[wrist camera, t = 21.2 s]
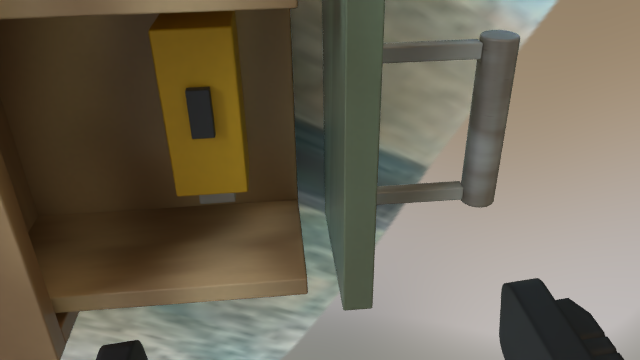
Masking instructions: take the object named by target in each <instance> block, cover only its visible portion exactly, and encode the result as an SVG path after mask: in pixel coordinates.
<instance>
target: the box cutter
mask: <svg viewBox="0 0 640 360" xmlns="http://www.w3.org/2000/svg"><path fill="white" fill-rule="evenodd" d="M148 34H149V39H150V45H151V51H152V56H153V62H154V68H155V74H156V79H157V85H158V91H159V97H160V102H161V108H162V114H163V120H164V125H165V131H166V137H167V143H168V148H169V154H170V160H171V166H172V171H173V177H174V183H175V189H176V194H177V196H179V197H180V196H195V195H199V200H200V204H209V203H224V202H235V200H236V193H240V192H248V189H249V153H248V142H247V132H246V121H245V111H244V100H243V90H242V79H241V68H240V58H239V47H238V37H237V26H236V16H235V11H211V12H184V13H160V14H159V15H158V17H157V18H156V20H155V21H154V23H153V24H152V26H151V27H150V29H149V31H148Z"/></svg>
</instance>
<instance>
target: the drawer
mask: <svg viewBox="0 0 640 360" xmlns="http://www.w3.org/2000/svg"><path fill="white" fill-rule="evenodd" d="M297 6H298V0H0V151H1V154H2V157H3V160H4V163H5V166H6V169H7V172H8V175H9V178H10V180H11V183H12V186H13V189H14V192H15V195H16V198H17V201H18V204H19V207H20V210H21V213H22V216H23V219H24V222H25V225H26V228H27V231H28V234H29V237H30V240H31V243H32V246H33V249H34V252H35V255H36V258H37V261H38V264H39V267H40V270H41V273H42V276H43V279H44V282H45V285H46V288H47V291H48V294H49V297H50V300H51V302H52V305H53V308H54V311H55V313H62V312H76V311H89V310H102V309H115V308H128V307H142V306H155V305H168V304H181V303H195V302H208V301H221V300H234V299H247V298H261V297H274V296H287V295H300V294H307V293H308V287H307V273H306V264H305V255H304V247H303V238H302V229H301V221H300V212H299V203H298V187H297V162H296V138H295V114H294V89H293V65H292V41H291V16H290V9H291V8H297ZM211 11H235V16H236V26H237V37H238V47H239V58H240V68H241V79H242V90H243V100H244V111H245V121H246V132H247V142H248V153H249V189H248V192H240V193H236V200H235V202H224V203H209V204H200V200H199V195H195V196H180V197H179V196H177V194H176V189H175V183H174V177H173V171H172V166H171V160H170V154H169V148H168V143H167V137H166V131H165V125H164V120H163V114H162V108H161V102H160V97H159V91H158V85H157V79H156V74H155V68H154V62H153V56H152V51H151V45H150V39H149V34H148V31H149V29H150V27H151V26H152V24H153V23H154V21H155V20H156V18H157V17H158V15H159V14H160V13H184V12H211ZM384 14H385V0H322V35H323V111H324V187H325V215H326V221H327V226H328V231H329V237H330V242H331V247H332V252H333V258H334V263H335V268H336V274H337V279H338V284H339V290H340V295H341V300H342V305H343V310H355V309H367V308H372V303H373V279H374V254H375V230H376V206H377V205H382V204H398V203H412V202H428V201H444V200H460V199H461V201H462V202H463V203H465V204H467V205H469V206H472V207H487V206H489V205H491V204H492V202H493V201H494V195H495V189H496V183H497V176H498V170H499V165H500V158H501V152H502V146H503V140H504V134H505V128H506V121H507V116H508V110H509V104H510V98H511V91H512V85H513V79H514V72H515V67H516V61H517V55H518V49H519V43H520V36H519V35H518V34H516V33H514V32H510V31H504V30H490V31H485V32H482V33H481V35H480V40H478V39H468V40H444V41H421V42H397V43H383V38H384ZM469 59H477V63H476V71H475V79H474V87H473V94H472V102H471V110H470V118H469V126H468V134H467V141H466V150H465V158H464V165H463V173H462V181H461V183H460V182H459V181H455V182H439V183H422V184H406V185H389V186H377V182H378V158H379V134H380V110H381V86H382V63H402V62H424V61H447V60H469Z"/></svg>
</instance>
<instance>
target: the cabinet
mask: <svg viewBox="0 0 640 360" xmlns="http://www.w3.org/2000/svg"><path fill="white" fill-rule="evenodd" d="M78 313H79V311H76V312H62V313H55V311H54V308H53V305H52V302H51V300H50V297H49V294H48V291H47V288H46V285H45V282H44V279H43V276H42V273H41V270H40V267H39V264H38V261H37V258H36V255H35V252H34V249H33V246H32V243H31V240H30V237H29V234H28V231H27V228H26V225H25V222H24V219H23V216H22V213H21V210H20V207H19V204H18V201H17V198H16V195H15V192H14V189H13V186H12V183H11V180H10V178H9V175H8V172H7V169H6V166H5V163H4V160H3V157H2V154H1V151H0V360H60V359H61V356H62V354H63V351H64V349H65V346H66V343H67V341H68V338H69V336H70V333H71V331H72V328H73V326H74V323H75V321H76V318H77V316H78Z"/></svg>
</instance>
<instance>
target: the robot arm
mask: <svg viewBox="0 0 640 360" xmlns="http://www.w3.org/2000/svg"><path fill="white" fill-rule="evenodd" d="M499 337H500V344H501V348H502V352H503V355H504V358H505V360H624V359H623V358H622V356H621V355H620V353H617V351H616V348H615V347H614V345H613V344H612V342H611V341H610V340H609V338H608V337H605V334H604V332H603V330H602V329H601V328H600V326H599V325H598V323H597V322H596V321H595V319H594V318H593V317H592V315H591V314H590V313H589V312H587V311H586V310H584V309H583V308H582V307H580V306H579V305H578V304H576V303H575V302H573V301H572V300H570V299H569V298H565V299H559V300H555V299H554V298H553V296H552V295H551V293H550V292H549V290H548V289H547V287H546V286H545V284H544V283H543V282H542V281H541V280H540V279H538V278H536V279H529V280H522V281H516V282H511V283H504V284H503V286H502V292H501V310H500V329H499ZM96 360H148V358H147V356H146V353H145V351H144V348H143V346H142V344H141V342H140V341H139V340H134V341H127V342H121V343H115V344H108V345H103V346H102V347H101V348H100V350H99V352H98V355H97V358H96Z"/></svg>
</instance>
